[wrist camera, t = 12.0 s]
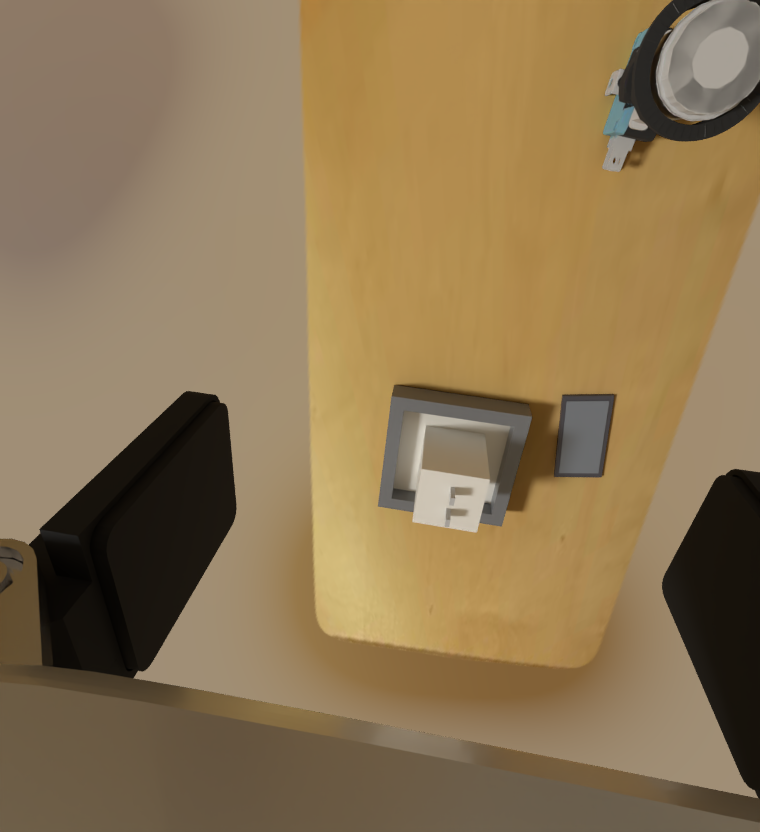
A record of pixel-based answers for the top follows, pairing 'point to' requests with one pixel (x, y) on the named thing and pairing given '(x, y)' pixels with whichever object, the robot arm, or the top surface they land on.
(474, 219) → the top surface
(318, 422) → the top surface
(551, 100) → the top surface
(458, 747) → the robot arm
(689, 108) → the push button
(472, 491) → the charger
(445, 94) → the top surface
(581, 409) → the phone
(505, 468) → the dock
